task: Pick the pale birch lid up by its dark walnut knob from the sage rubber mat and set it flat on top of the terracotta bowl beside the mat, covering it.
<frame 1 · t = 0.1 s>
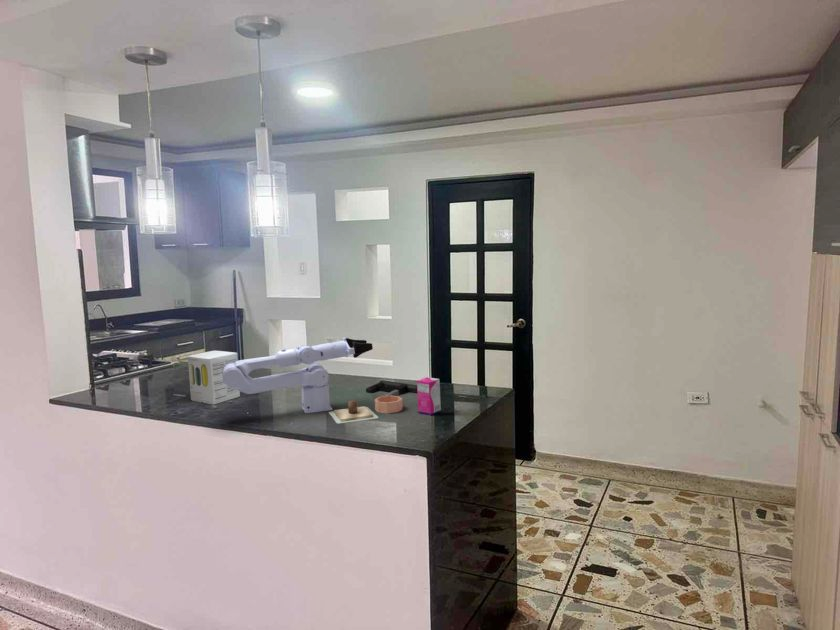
hand: (369, 344, 201), 22 cm above the table, tool horizontal, fingers open, 7 cm apart
lid: (353, 414, 188), resting on mat
mat: (353, 415, 188), on the table
supplement box 2: (215, 399, 215), on the table
supplement box: (429, 412, 191), on the table
door handle: (391, 394, 217), on the table
bowl: (388, 410, 194), on the table
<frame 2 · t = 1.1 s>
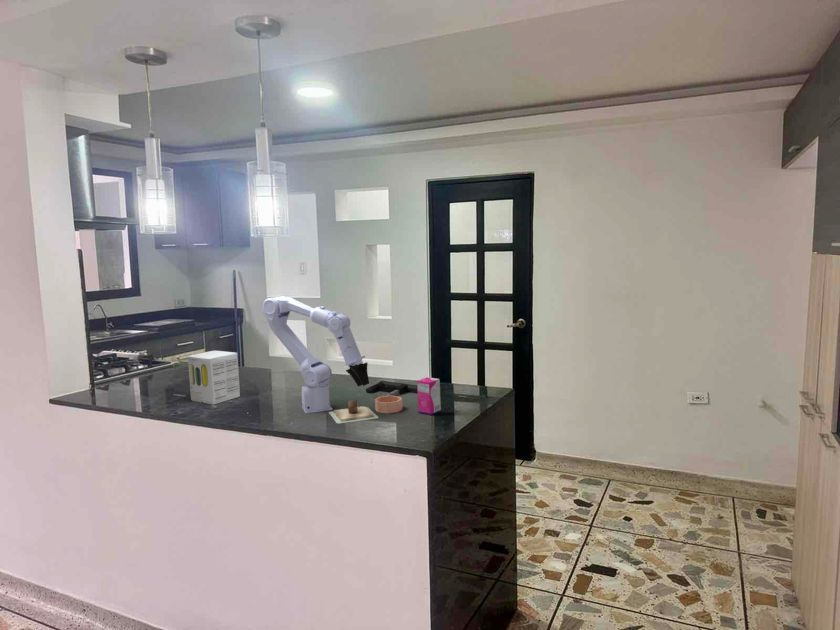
hand: (363, 385, 190), 10 cm above the table, tool tilted 20°, fingers open, 7 cm apart
nothing on the table moved.
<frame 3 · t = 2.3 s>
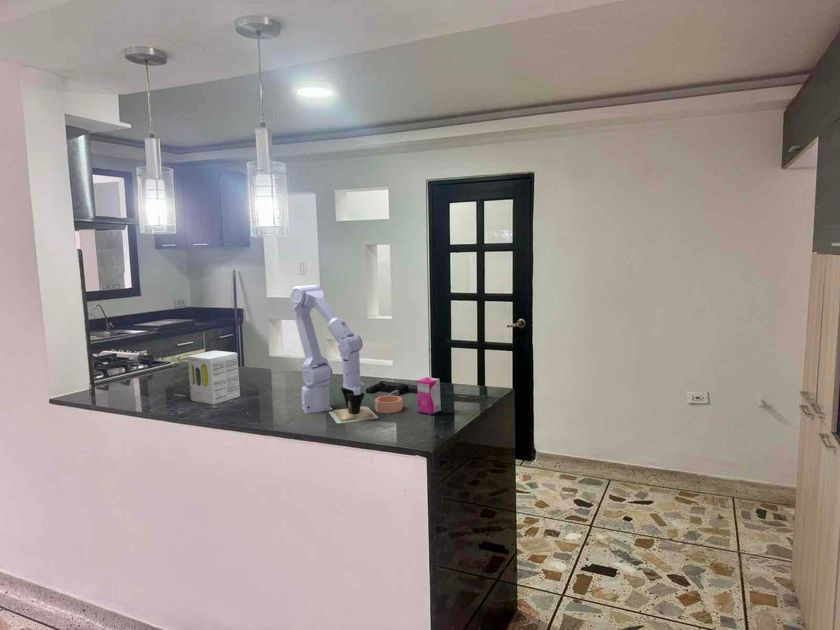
hand: (352, 410, 188), 2 cm above the table, tool pointing down, fingers open, 7 cm apart
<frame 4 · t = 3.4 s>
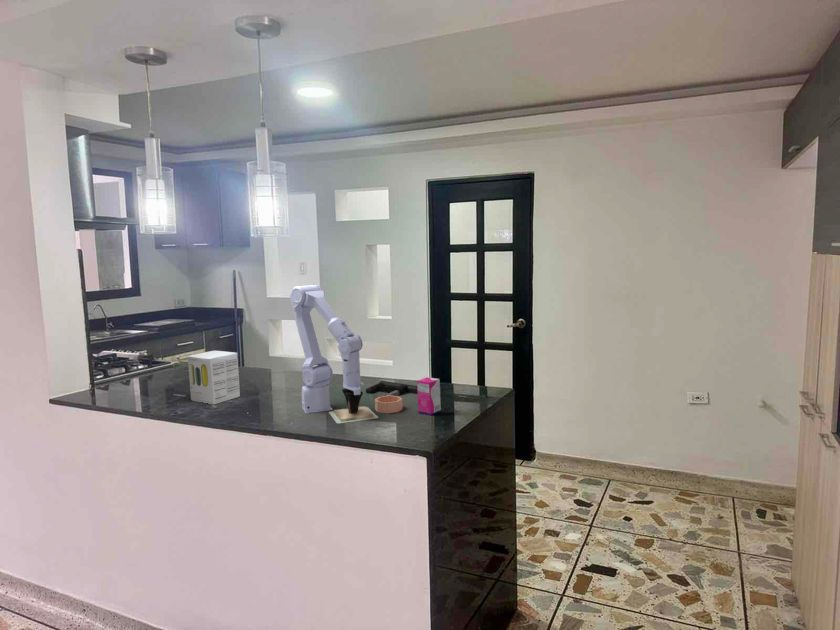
hand: (352, 410, 188), 2 cm above the table, tool pointing down, fingers closed on lid, 3 cm apart
lid: (353, 414, 188), resting on mat, touching gripper
everything else where it was.
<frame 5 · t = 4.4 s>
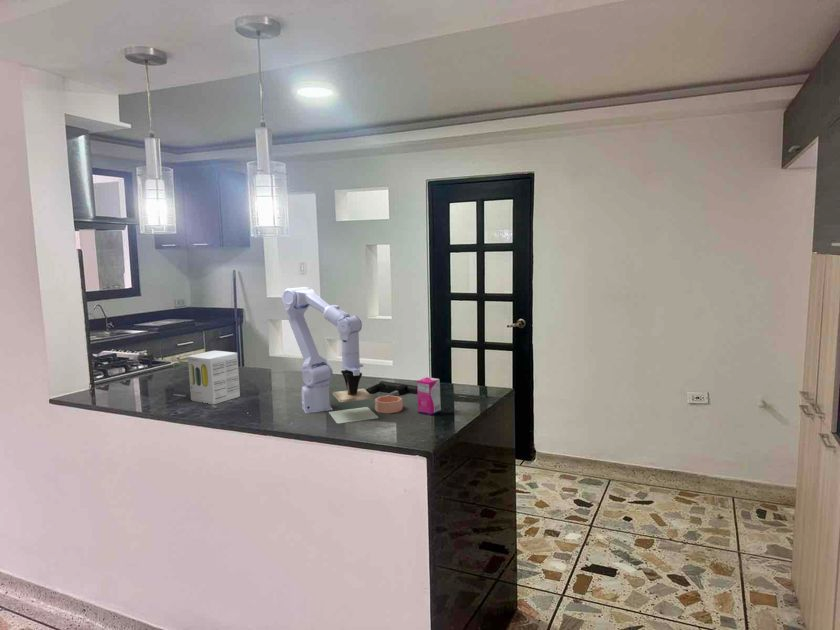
hand: (352, 392, 187), 8 cm above the table, tool pointing down, fingers closed on lid, 3 cm apart
lid: (352, 396, 188), point 7 cm above the table, touching gripper
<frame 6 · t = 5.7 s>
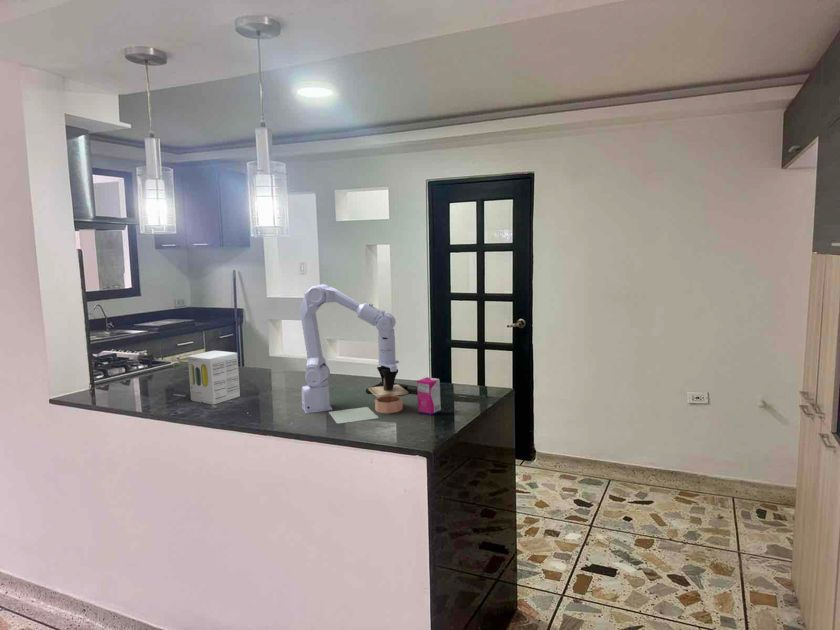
hand: (388, 387, 193), 8 cm above the table, tool pointing down, fingers closed on lid, 3 cm apart
lid: (388, 391, 193), point 7 cm above the table, touching gripper
when the fingers open (6 cm above the table, at t = 6.7 s): lid stays where it is, resting on bowl.
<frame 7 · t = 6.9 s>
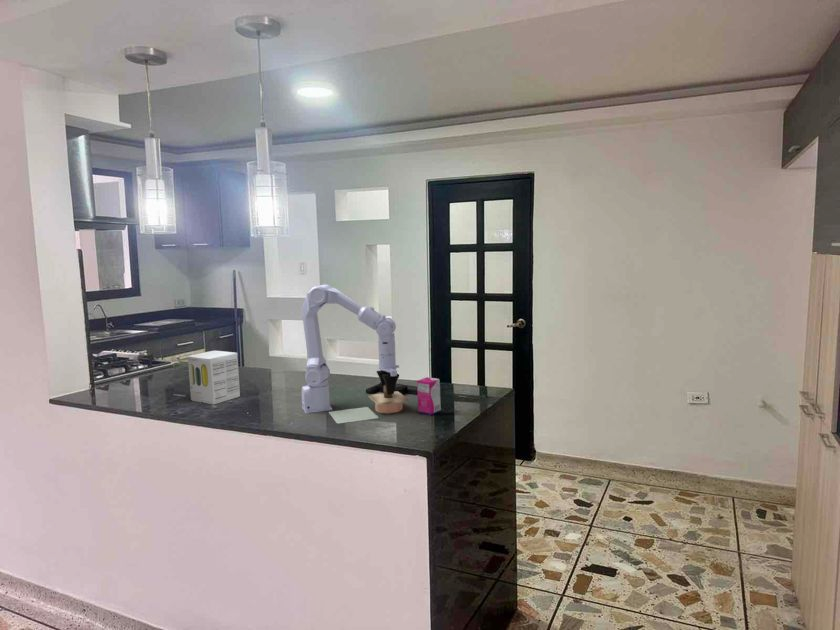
hand: (388, 392, 193), 6 cm above the table, tool pointing down, fingers open, 5 cm apart
lid: (388, 399, 193), point 4 cm above the table, touching bowl
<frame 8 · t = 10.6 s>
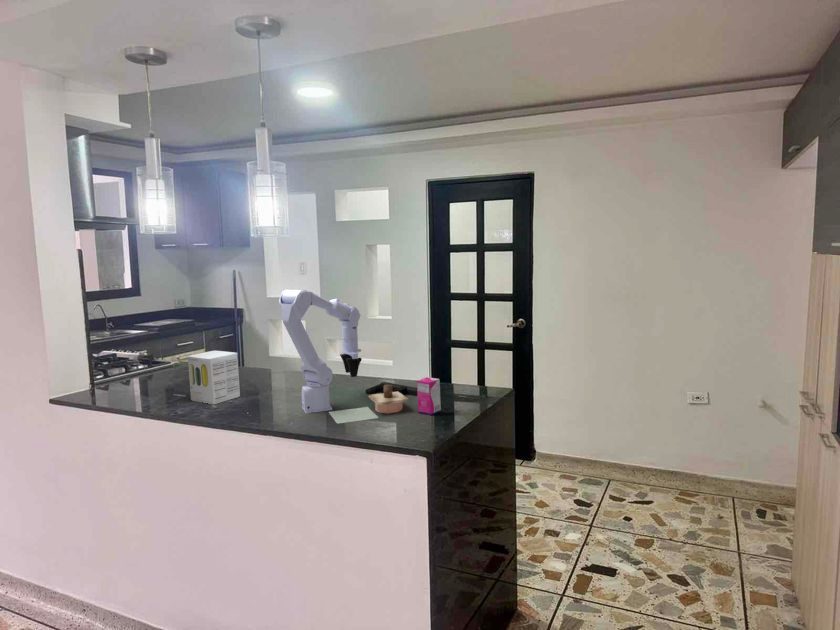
hand: (351, 374, 209), 9 cm above the table, tool pointing down, fingers open, 7 cm apart
at the end: lid 0.1 cm off-centre on the bowl, point 4.0 cm above the bowl's base; lid tilted 0°; the gripper is holding nothing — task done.
